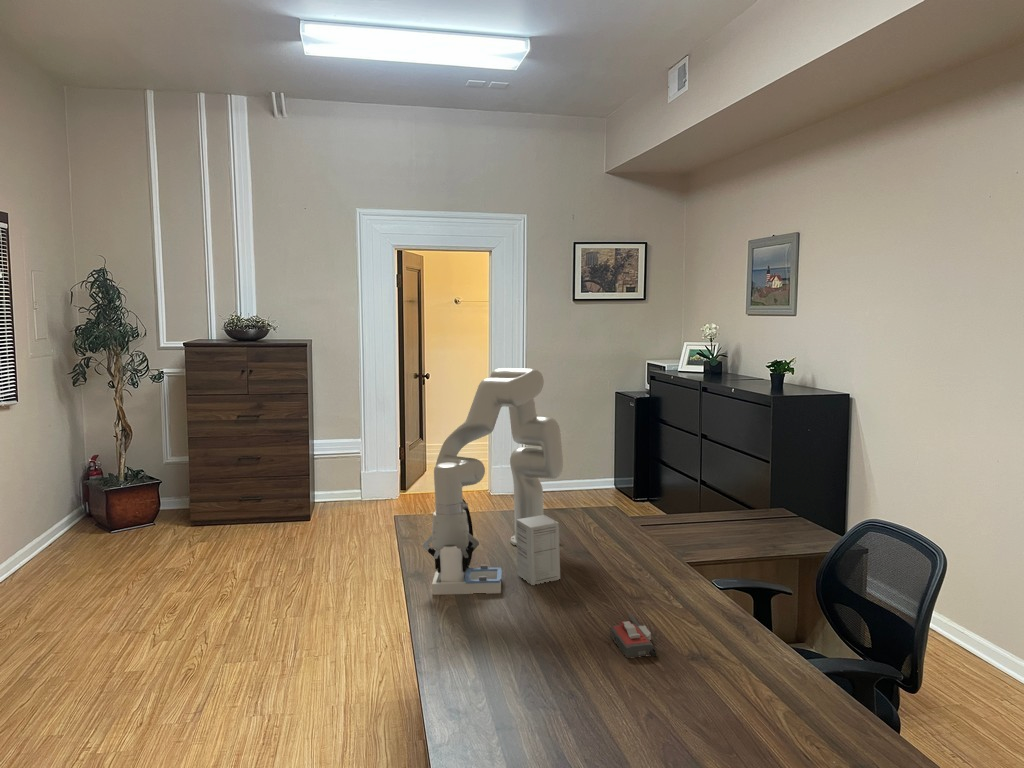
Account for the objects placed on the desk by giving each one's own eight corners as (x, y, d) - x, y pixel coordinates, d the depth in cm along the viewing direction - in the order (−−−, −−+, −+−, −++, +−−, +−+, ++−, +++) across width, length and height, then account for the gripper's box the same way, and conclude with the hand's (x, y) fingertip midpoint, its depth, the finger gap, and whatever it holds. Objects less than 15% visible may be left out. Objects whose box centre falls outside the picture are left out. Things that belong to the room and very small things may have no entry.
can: (468, 581, 201) (466, 540, 199) (457, 590, 195) (455, 548, 193) (448, 578, 203) (446, 537, 202) (436, 587, 197) (434, 545, 196)
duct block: (502, 579, 203) (501, 564, 203) (501, 593, 193) (501, 577, 193) (436, 581, 204) (435, 565, 203) (432, 595, 194) (431, 578, 193)
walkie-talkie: (665, 658, 156) (633, 620, 176) (665, 639, 156) (633, 603, 175) (627, 663, 155) (599, 624, 174) (627, 643, 154) (599, 606, 174)
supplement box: (546, 569, 211) (544, 513, 209) (561, 579, 202) (560, 521, 201) (516, 575, 206) (515, 518, 205) (531, 586, 198) (529, 527, 196)
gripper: (481, 503, 200) (483, 564, 202) (419, 505, 200) (422, 566, 202) (480, 510, 193) (482, 574, 195) (416, 512, 193) (419, 576, 195)
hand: (452, 570), depth 199 cm, fingers closed on can, 6 cm apart
